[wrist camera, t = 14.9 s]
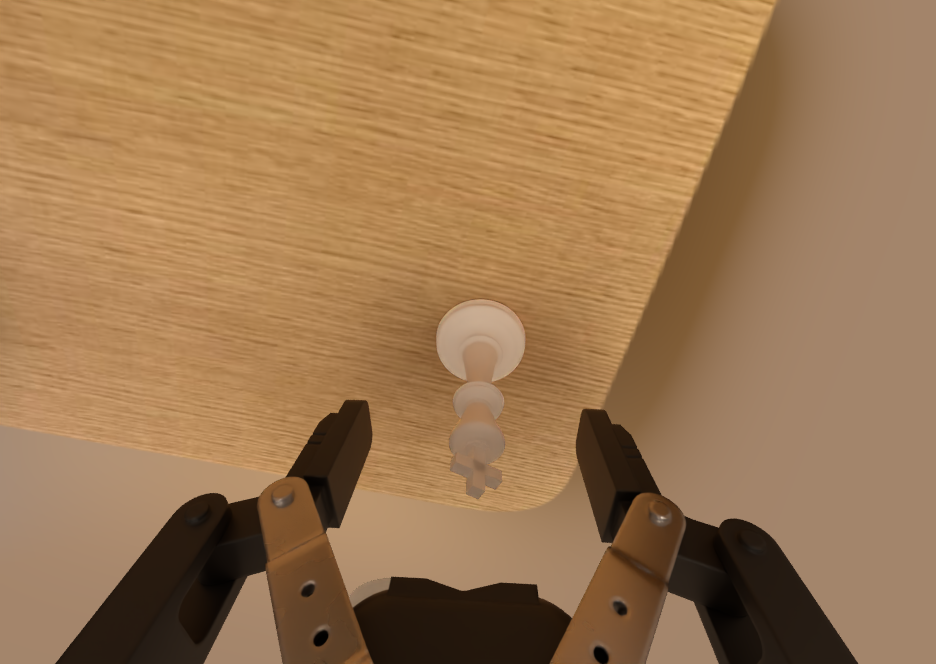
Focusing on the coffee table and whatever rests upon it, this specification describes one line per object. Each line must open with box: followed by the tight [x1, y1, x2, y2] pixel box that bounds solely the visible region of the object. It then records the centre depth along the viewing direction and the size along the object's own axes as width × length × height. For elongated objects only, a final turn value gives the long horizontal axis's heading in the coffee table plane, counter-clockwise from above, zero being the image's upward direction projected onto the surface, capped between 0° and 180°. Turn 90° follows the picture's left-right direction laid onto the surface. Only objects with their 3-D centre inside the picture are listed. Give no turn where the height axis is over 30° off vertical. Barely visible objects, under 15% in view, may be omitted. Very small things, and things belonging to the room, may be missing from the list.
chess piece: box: [436, 299, 526, 499], centre depth 15 cm, size 5×5×10 cm
